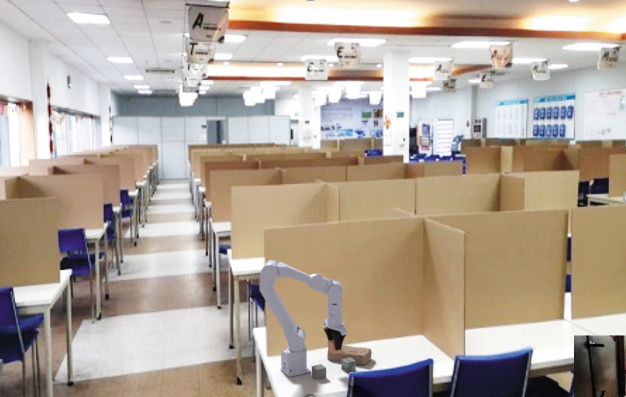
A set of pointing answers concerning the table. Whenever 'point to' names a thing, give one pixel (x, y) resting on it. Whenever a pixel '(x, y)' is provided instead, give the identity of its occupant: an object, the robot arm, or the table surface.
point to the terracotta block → (333, 347)
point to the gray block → (318, 372)
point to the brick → (352, 354)
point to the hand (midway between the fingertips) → (335, 347)
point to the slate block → (348, 365)
